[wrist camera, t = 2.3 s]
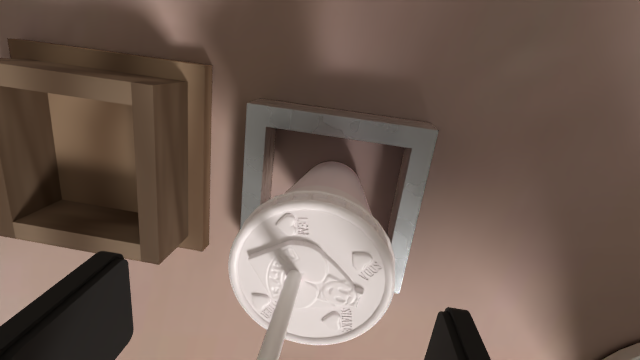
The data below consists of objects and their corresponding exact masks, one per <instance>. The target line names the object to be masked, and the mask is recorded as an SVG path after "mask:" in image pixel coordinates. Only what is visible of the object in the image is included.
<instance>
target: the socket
mask: <svg viewBox="0 0 640 360" xmlns="http://www.w3.org/2000/svg"><path fill="white" fill-rule="evenodd" d="M7 39H8V38H7ZM8 45H9V51H10V57H11V59H6V58H0V236H4V237H10V238H15V239H21V240H26V241H32V242H37V243H43V244H48V245H54V246H59V247H65V248H70V249H76V250H81V251H87V252H92V253H98V252H99V251H107V252H113V253H119V254H122V255H123V257H124V258H125V259H131V260H136V261H142V262H147V263H153V264H158V265H159V264H160V263H161V262H162V261H163V260H164V259H165V258H167V257H168V256H169V255H170V254H171V253H172V252H173V251H174V250H175V249H176V248H177V247H180V248H186V249H192V250H197V251H203V250H204V249H205V248H206V247H207V246H208V245H209V209H210V156H211V103H212V65H206V64H198V63H191V62H184V61H176V60H169V59H162V58H154V57H147V56H140V55H132V54H125V53H118V52H111V51H103V50H96V49H89V48H81V47H74V46H67V45H59V44H52V43H45V42H37V41H30V40H22V39H8Z"/></svg>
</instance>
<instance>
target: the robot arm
mask: <svg viewBox="0 0 640 360" xmlns="http://www.w3.org/2000/svg"><path fill="white" fill-rule="evenodd" d="M132 334H133V318H132V305H131V293H130V281H129V268H128V262H127V260H125V259H124V257H123V255H122V254H119V253H113V252H107V251H99V252H98V253H96V254H95V255H93V256H92V257H91V258H90V259H88V260H87V261H86V262H84V263H83V264H82V265H80V266H79V267H78V268H76V269H75V270H74V271H72V272H71V273H70V274H69V275H67V276H66V277H65V278H63V279H62V280H61V281H59V282H58V283H57V284H55V285H54V286H53V287H51V288H50V289H49V290H48V291H46V292H45V293H44V294H42V295H41V296H40V297H38V298H37V299H36V300H34V301H33V302H32V303H30V304H29V305H28V306H26V307H25V308H24V309H23V310H21V311H20V312H19V313H17V314H16V315H15V316H13V317H12V318H11V319H9V320H8V321H7V322H5V323H4V324H3V325H2V326H0V360H115V359H116V358H117V356H118V355H119V354H120V353H121V351H122V350H123V349H124V348H125V346H126V345H127V344H128V342H129V341H130V339H131V337H132ZM424 360H491V359H490V357H489V355H488V352H487V350H486V348H485V346H484V344H483V341H482V339H481V337H480V335H479V332H478V330H477V328H476V326H475V323H474V321H473V319H472V317H471V314H470V313H469V311H467V310H462V309H456V308H449V307H448V308H446V309H445V311H444V312H442V311H440V312H439V313H438V315H437V319H436V322H435V325H434V329H433V332H432V335H431V339H430V342H429V345H428V349H427V352H426V355H425V359H424ZM602 360H640V343H637V344H634V345H632V346H629V347H626V348H624V349H621V350H619V351H617V352H615V353H613V354H611V355H610V356H608V357H606V358H604V359H602Z"/></svg>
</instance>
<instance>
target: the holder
mask: <svg viewBox="0 0 640 360" xmlns="http://www.w3.org/2000/svg"><path fill="white" fill-rule="evenodd" d="M276 128H278V129H285V130H292V131H299V132H305V133H312V134H319V135H326V136H332V137H339V138H346V139H353V140H359V141H366V142H373V143H380V144H386V145H393V146H400V147H405V149H404V153H403V158H402V163H401V168H400V172H399V177H398V182H397V186H396V191H395V196H394V201H393V205H392V210H391V215H390V219H389V224H388V229H387V236H388V237H389V239H390V242H391V246H392V249H393V252H394V256H395V289H394V293H398V294H399V293H400V289H401V285H402V281H403V276H404V272H405V268H406V264H407V260H408V256H409V252H410V247H411V243H412V239H413V235H414V231H415V227H416V223H417V218H418V214H419V210H420V206H421V202H422V198H423V194H424V189H425V185H426V181H427V177H428V173H429V169H430V165H431V160H432V156H433V152H434V148H435V144H436V140H437V136H438V131H439V130H437V129H436V128H435V127H434V126H433V125H432V124H431V123H429V122H422V121H415V120H408V119H401V118H394V117H387V116H380V115H373V114H366V113H359V112H352V111H345V110H338V109H331V108H324V107H317V106H310V105H303V104H296V103H289V102H282V101H275V100H268V99H261V98H260V99H257V100H254V101H251V102H249V103H247V112H246V131H245V150H244V169H243V188H242V207H241V226H240V229H241V228H242V226H243V224H244V222H245V220H246V219H247V218H248V217H249V216H250V215H251V214H252V213H253V212H254V210H255V209H256V208H257V207H258V206H260V205H262V204H263V203H265V202H267V201H268V200H270V197H271V184H272V172H273V160H274V148H275V136H276Z"/></svg>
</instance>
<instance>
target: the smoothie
mask: <svg viewBox="0 0 640 360" xmlns="http://www.w3.org/2000/svg"><path fill="white" fill-rule="evenodd" d="M228 269H229V278H230V282H231V286H232V289H233V291H234V293H235V296H236V298H237V299H238V301H239V303H240V304H241V306H242V307H243V309H244V310H245V311H246V312H247V314H248V315H249V316H250V317H251V318H252V319H253V320H254V321H256V322H257V323H258V324H259V325H261V326H262V327H263V328H265V329H266V330H267V332H266V335H265V338H264V340H263V343H262V346H261V349H260V351H259V354H258V357H257V360H279V356H280V353H281V349H282V346H283V342H284V339H286V340H290V341H293V342H297V343H302V344H309V345H330V344H337V343H341V342H345V341H348V340H351V339H353V338H355V337H358V336H360V335H361V334H363V333H365V332H366V331H368V330H369V329H371V328H372V327H373V326H374V325H375V324H376V323H377V322H378V321H379V320H380V319H381V318H382V316H383V315H384V314H385V312H386V311H387V309H388V307H389V305H390V303H391V300H392V297H393V294H394V289H395V256H394V252H393V249H392V246H391V242H390V239H389V237H388V236H387V234H386V233H385V231H384V229H383V228H382V226H381V225H380V223H379V222H378V221H377V220H376V219H375V218H374V217H373V216H372V213H371V211H370V208H369V205H368V202H367V200H366V197H365V194H364V191H363V188H362V186H361V183H360V180H359V178H358V176H357V174H356V173H355V172H354V171H353V170H352V169H351V168H350V167H348V166H347V165H345V164H343V163H340V162H335V161H328V162H323V163H320V164H318V165H316V166H314V167H313V168H312V169H311V170H310V171H309V172H307V173H306V174H305V175H304V176H303V177H302V178H301V179H300V180H299V181H297V182H296V183H295V184H294V185H293V186H292V187H291V188H290V189H289V190H288V191H286V192H285V193H284V194H282V195H278V196H275V197H273V198H272V199H270V200H268V201H267V202H265V203H263V204H262V205H260V206H258V207H257V208H256V209H255V210H254V212H253V213H252V214H251V215H250V216H249V217H248V218H247V219H246V220H245V222H244V224H243V226H242V228H241V229H240V231H239V233H238V234H237V236H236V238H235V240H234V242H233V244H232V247H231V250H230V255H229V265H228Z"/></svg>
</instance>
